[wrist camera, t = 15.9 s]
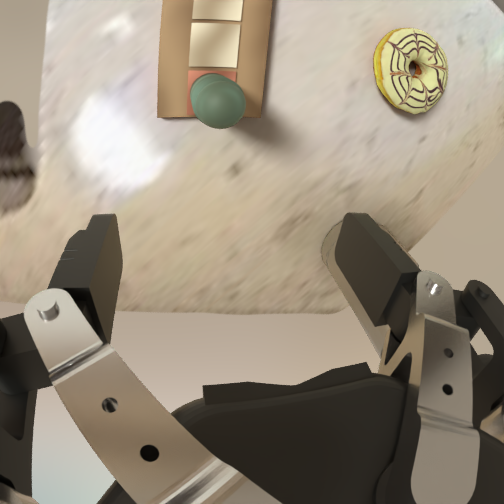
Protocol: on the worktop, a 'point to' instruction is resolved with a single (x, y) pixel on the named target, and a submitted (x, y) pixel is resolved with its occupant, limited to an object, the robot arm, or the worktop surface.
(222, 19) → the game board
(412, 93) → the decorated donut
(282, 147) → the worktop surface
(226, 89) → the pawn
